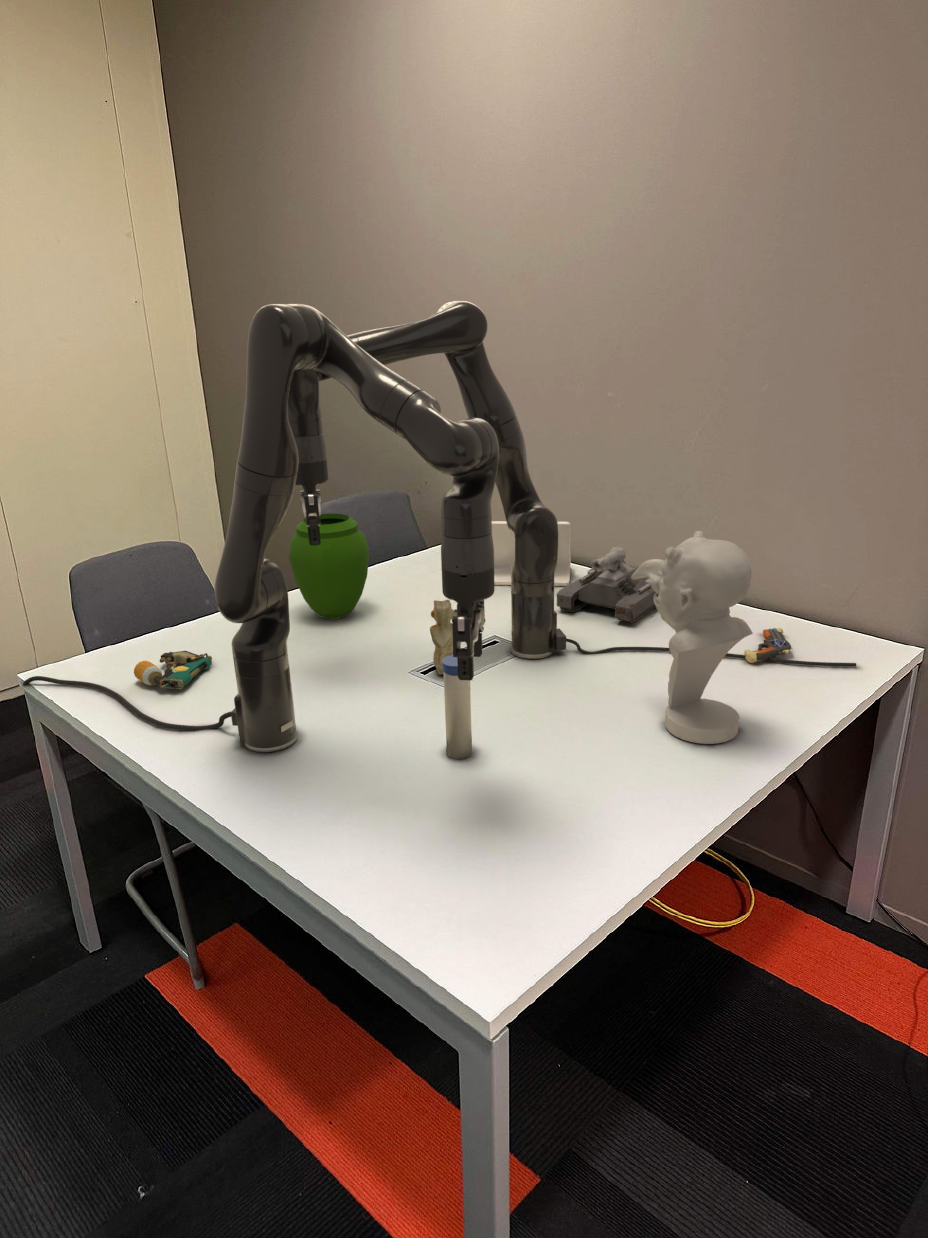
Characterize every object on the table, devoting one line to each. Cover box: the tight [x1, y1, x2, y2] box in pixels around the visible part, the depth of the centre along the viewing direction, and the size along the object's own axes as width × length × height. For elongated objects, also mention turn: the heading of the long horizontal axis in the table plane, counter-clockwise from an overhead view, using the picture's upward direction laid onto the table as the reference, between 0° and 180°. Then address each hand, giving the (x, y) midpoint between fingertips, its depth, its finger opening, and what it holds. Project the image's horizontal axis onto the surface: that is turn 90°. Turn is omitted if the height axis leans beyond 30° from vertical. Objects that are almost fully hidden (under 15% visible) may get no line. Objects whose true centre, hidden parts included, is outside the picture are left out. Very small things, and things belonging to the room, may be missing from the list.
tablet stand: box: [492, 520, 572, 587], centre depth 236 cm, size 18×25×17 cm
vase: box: [288, 512, 370, 620], centre depth 209 cm, size 20×20×24 cm
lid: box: [442, 655, 458, 675], centre depth 141 cm, size 5×5×2 cm
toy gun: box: [743, 627, 794, 664], centre depth 185 cm, size 3×19×10 cm
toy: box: [556, 546, 656, 624], centre depth 212 cm, size 25×20×15 cm
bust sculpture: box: [631, 530, 754, 745], centre depth 151 cm, size 16×24×35 cm, turn 28°
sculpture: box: [429, 599, 454, 675], centre depth 177 cm, size 6×7×15 cm
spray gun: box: [133, 650, 213, 690], centre depth 180 cm, size 4×17×15 cm
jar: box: [443, 673, 473, 760], centre depth 144 cm, size 4×4×17 cm
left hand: (470, 667), depth 127 cm, fingers open, 8 cm apart
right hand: (314, 539), depth 170 cm, fingers open, 8 cm apart
